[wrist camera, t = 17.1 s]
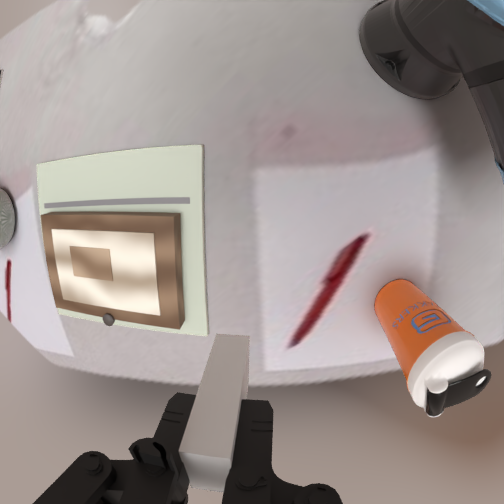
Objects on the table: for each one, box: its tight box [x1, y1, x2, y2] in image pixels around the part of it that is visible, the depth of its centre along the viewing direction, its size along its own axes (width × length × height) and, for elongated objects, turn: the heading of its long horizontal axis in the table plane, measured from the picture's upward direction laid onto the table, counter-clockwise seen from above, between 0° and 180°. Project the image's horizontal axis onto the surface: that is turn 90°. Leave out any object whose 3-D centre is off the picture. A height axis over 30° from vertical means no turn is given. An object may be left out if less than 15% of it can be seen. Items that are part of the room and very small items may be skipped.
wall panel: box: [37, 145, 209, 336], centre depth 38 cm, size 26×28×1 cm
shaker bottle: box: [375, 279, 491, 417], centre depth 28 cm, size 9×9×20 cm
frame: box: [41, 212, 185, 330], centre depth 36 cm, size 16×22×3 cm
